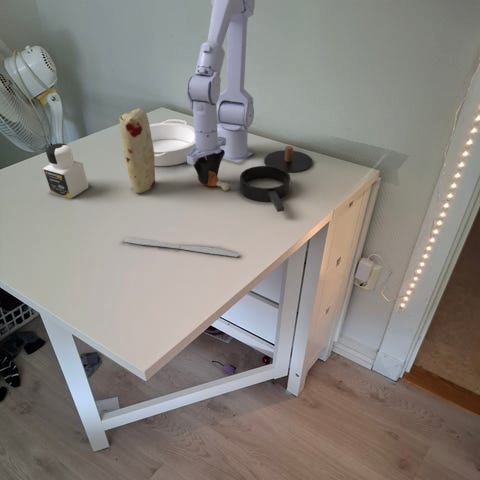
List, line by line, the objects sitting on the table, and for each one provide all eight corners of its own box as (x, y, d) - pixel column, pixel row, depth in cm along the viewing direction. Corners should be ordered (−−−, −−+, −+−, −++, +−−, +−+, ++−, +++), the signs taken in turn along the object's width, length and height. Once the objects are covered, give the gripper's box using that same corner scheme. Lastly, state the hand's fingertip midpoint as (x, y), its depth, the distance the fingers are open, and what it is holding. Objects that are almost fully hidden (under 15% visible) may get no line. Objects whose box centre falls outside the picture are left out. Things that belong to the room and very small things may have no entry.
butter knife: (128, 234, 102) (122, 240, 99) (240, 251, 97) (237, 258, 95) (128, 236, 102) (123, 242, 100) (240, 253, 98) (237, 260, 95)
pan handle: (267, 194, 111) (267, 190, 111) (274, 193, 112) (274, 189, 111) (277, 212, 105) (277, 208, 104) (284, 211, 105) (284, 207, 105)
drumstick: (195, 184, 119) (194, 171, 117) (203, 179, 122) (203, 166, 119) (224, 193, 115) (224, 180, 113) (232, 188, 118) (232, 174, 115)
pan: (230, 194, 116) (230, 180, 113) (256, 175, 124) (256, 161, 121) (273, 208, 111) (274, 194, 108) (297, 187, 119) (299, 173, 116)
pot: (147, 131, 147) (145, 116, 144) (211, 136, 144) (210, 121, 141) (113, 169, 127) (110, 153, 124) (187, 175, 124) (186, 159, 121)
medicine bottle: (50, 193, 117) (36, 148, 109) (69, 181, 121) (57, 138, 113) (70, 199, 115) (57, 154, 106) (89, 187, 119) (78, 143, 111)
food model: (147, 198, 115) (134, 119, 101) (125, 194, 116) (109, 116, 102) (163, 181, 122) (153, 105, 108) (142, 178, 123) (129, 102, 109)
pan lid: (255, 167, 128) (255, 150, 124) (278, 149, 136) (279, 134, 133) (298, 179, 122) (300, 162, 119) (320, 160, 131) (322, 144, 127)
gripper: (201, 142, 103) (204, 195, 112) (235, 122, 111) (235, 173, 121) (178, 135, 105) (183, 188, 115) (212, 117, 114) (214, 167, 124)
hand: (208, 180), depth 118 cm, fingers closed on drumstick, 4 cm apart
